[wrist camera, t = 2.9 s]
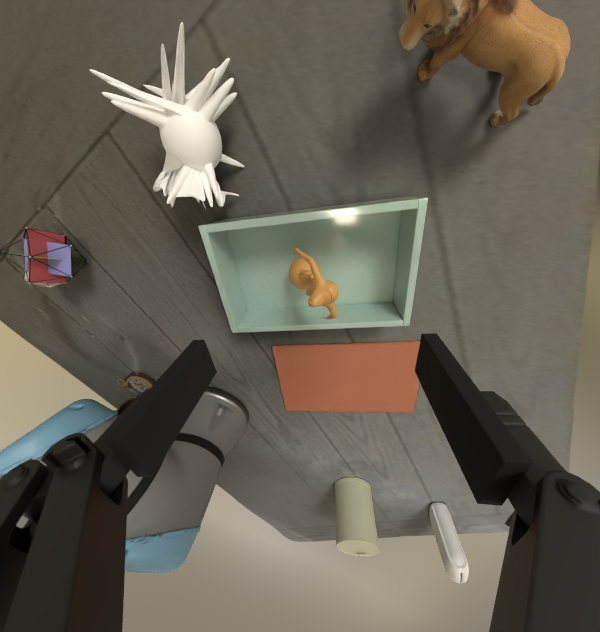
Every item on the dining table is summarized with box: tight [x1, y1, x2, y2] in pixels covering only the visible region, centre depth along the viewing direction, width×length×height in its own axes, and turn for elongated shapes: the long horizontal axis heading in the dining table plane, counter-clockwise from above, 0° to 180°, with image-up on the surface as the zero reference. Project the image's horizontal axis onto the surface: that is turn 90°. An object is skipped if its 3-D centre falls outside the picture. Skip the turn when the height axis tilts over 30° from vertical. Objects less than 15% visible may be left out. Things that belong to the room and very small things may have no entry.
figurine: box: [289, 247, 339, 320], centre depth 24 cm, size 8×6×12 cm
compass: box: [117, 373, 155, 415], centre depth 42 cm, size 8×8×7 cm
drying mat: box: [272, 341, 420, 412], centre depth 39 cm, size 24×16×1 cm, turn 97°
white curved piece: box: [429, 503, 469, 583], centre depth 53 cm, size 10×4×12 cm, turn 15°
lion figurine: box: [399, 0, 570, 127], centre depth 15 cm, size 15×5×9 cm, turn 74°
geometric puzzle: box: [0, 227, 89, 287], centre depth 29 cm, size 7×7×8 cm
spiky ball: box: [90, 22, 245, 209], centre depth 20 cm, size 11×12×8 cm
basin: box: [198, 196, 428, 333], centre depth 27 cm, size 23×14×5 cm, turn 97°
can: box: [334, 477, 380, 556], centre depth 52 cm, size 9×9×12 cm
